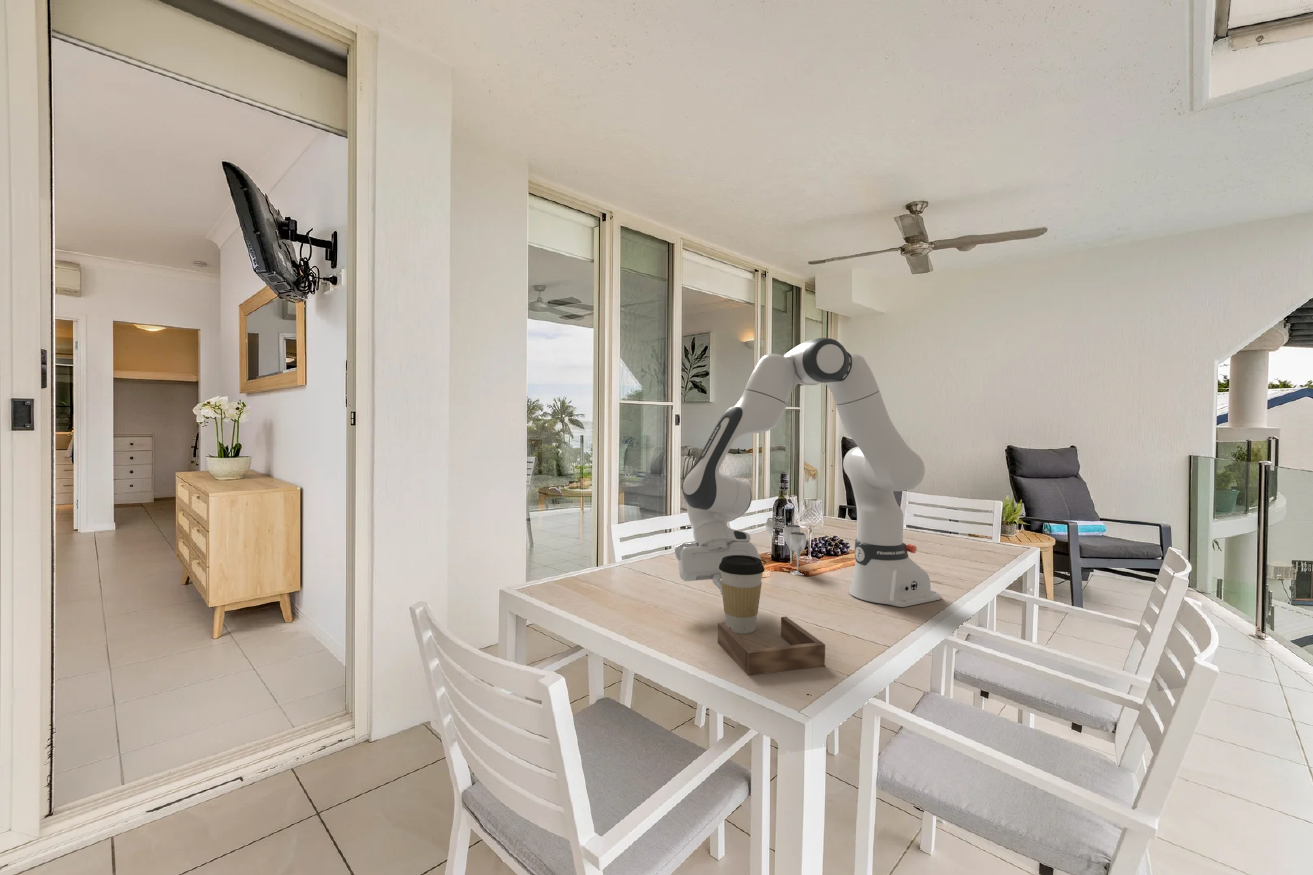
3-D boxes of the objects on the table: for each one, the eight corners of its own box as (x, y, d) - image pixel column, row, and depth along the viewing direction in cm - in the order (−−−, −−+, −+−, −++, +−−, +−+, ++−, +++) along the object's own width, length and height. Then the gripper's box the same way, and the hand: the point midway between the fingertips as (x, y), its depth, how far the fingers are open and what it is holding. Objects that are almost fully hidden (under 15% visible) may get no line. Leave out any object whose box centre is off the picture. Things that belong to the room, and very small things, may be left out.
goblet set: (809, 575, 161) (810, 530, 161) (790, 575, 160) (791, 530, 160) (779, 552, 189) (780, 513, 188) (763, 552, 188) (763, 513, 188)
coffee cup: (754, 618, 126) (755, 553, 125) (770, 635, 116) (771, 565, 115) (712, 620, 124) (713, 554, 123) (725, 638, 114) (726, 566, 114)
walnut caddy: (785, 635, 116) (786, 616, 116) (824, 665, 102) (825, 644, 102) (717, 642, 112) (718, 622, 112) (748, 675, 98) (748, 652, 98)
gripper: (676, 537, 131) (688, 590, 122) (755, 533, 136) (773, 583, 127) (670, 551, 135) (682, 603, 126) (747, 546, 140) (763, 596, 131)
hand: (728, 593), depth 126 cm, fingers closed
